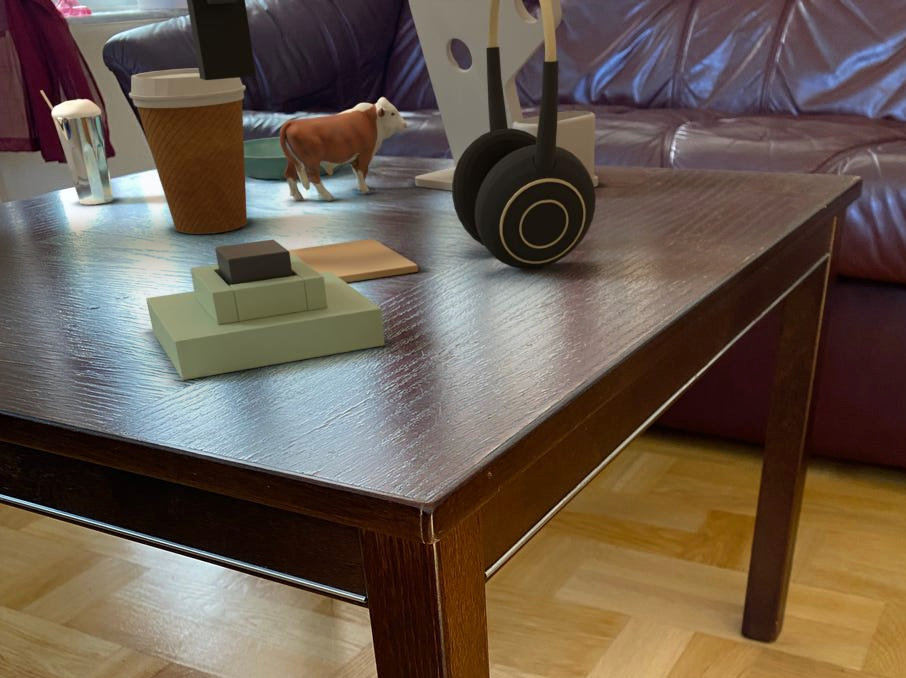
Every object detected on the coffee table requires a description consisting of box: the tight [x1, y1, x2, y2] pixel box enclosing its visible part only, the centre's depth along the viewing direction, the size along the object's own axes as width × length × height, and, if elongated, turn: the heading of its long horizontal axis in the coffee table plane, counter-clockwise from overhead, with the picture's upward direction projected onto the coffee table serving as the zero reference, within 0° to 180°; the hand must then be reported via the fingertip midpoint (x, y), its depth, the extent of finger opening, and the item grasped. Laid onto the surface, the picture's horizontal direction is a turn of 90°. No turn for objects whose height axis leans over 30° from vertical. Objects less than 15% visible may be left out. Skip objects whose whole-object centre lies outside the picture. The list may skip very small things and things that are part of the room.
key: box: [214, 239, 293, 286], centre depth 60 cm, size 4×4×2 cm
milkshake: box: [39, 89, 114, 206], centre depth 100 cm, size 5×5×10 cm
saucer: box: [244, 136, 344, 180], centre depth 113 cm, size 15×15×3 cm
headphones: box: [451, 0, 597, 270], centre depth 71 cm, size 9×15×20 cm, turn 14°
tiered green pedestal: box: [145, 254, 386, 381], centre depth 61 cm, size 10×12×4 cm
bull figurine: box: [278, 96, 408, 202], centre depth 99 cm, size 4×13×8 cm, turn 124°
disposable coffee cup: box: [128, 67, 248, 235], centre depth 87 cm, size 10×10×12 cm
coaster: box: [287, 238, 419, 283], centre depth 77 cm, size 10×10×1 cm
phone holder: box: [408, 0, 599, 192], centre depth 97 cm, size 17×10×18 cm, turn 49°
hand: (227, 76), depth 55 cm, fingers closed
